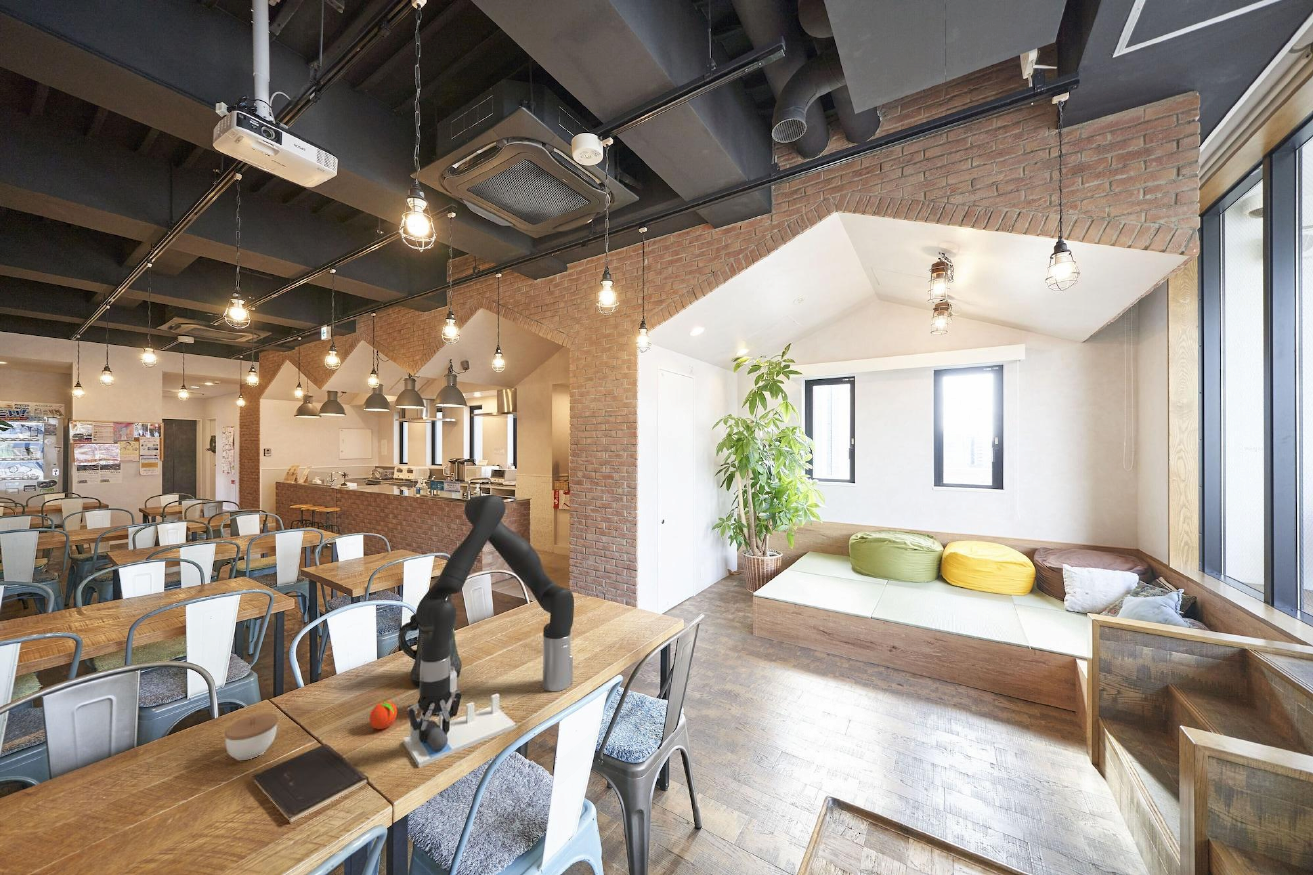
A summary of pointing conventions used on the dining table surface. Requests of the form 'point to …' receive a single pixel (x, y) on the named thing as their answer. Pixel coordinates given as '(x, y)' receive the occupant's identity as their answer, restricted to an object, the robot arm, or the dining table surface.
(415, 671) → the beer stein
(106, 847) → the dining table surface
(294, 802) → the hardcover book
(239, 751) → the lidded jar
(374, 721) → the clementine
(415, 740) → the white peg board
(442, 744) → the dark grey rounded cylinder
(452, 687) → the can
